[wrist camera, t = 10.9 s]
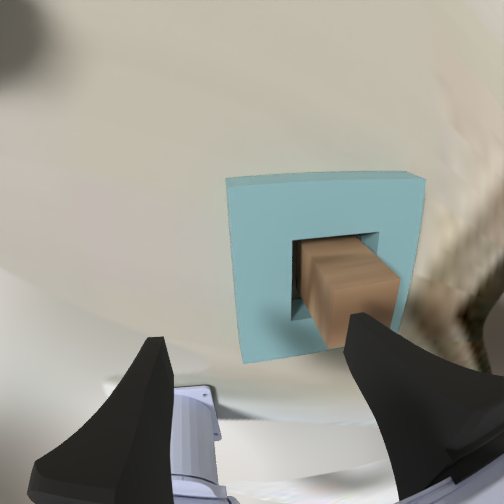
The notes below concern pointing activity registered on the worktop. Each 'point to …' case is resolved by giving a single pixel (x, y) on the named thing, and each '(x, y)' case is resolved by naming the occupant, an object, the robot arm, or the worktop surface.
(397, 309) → the socket plate
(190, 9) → the worktop surface
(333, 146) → the worktop surface
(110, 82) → the worktop surface
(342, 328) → the walnut peg
